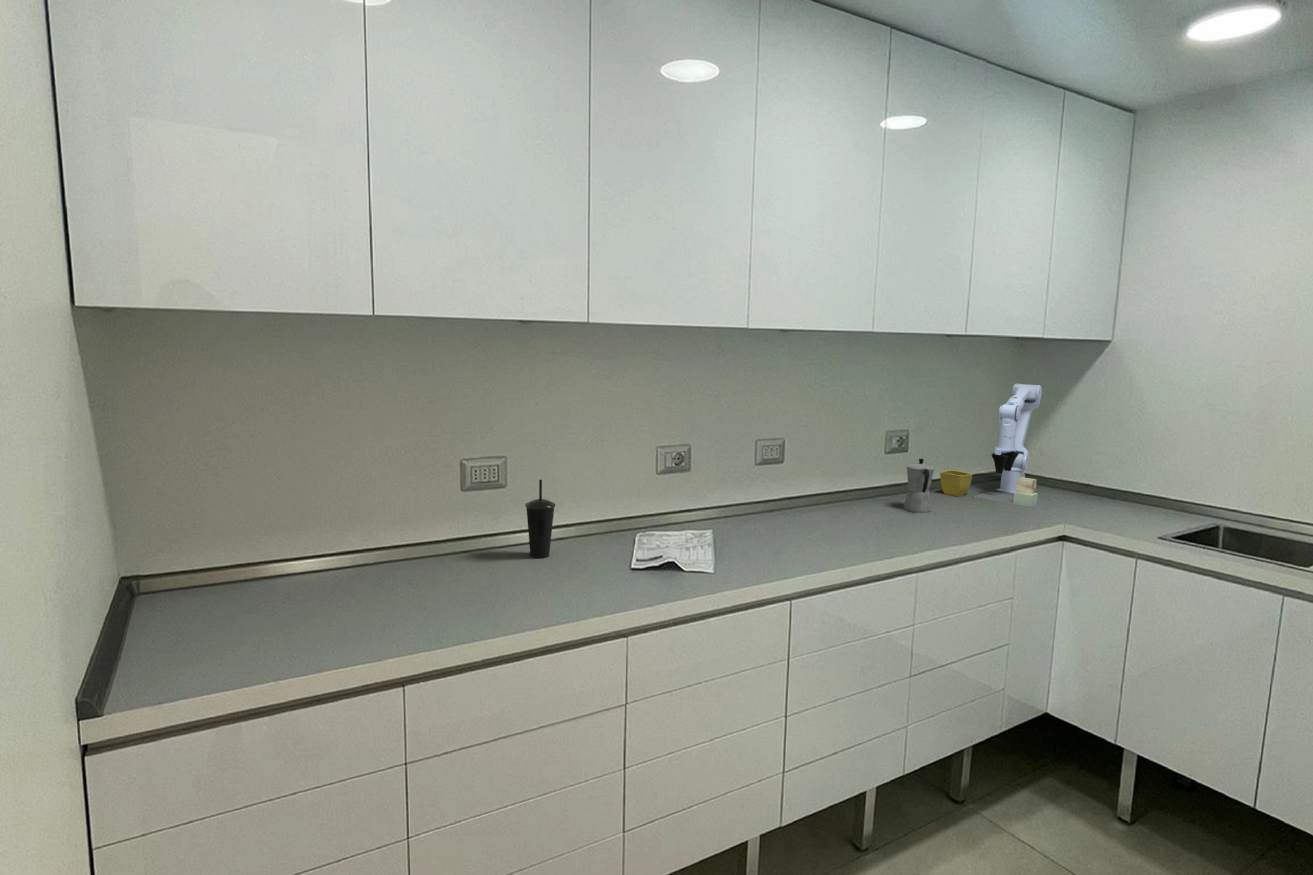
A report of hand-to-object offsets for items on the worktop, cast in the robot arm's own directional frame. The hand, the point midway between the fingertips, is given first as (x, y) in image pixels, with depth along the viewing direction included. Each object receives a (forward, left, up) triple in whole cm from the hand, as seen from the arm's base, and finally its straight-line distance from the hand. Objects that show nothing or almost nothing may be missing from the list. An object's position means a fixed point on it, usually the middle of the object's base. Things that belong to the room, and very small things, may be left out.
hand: (1003, 471), depth 274 cm
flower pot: (+13, -12, -10) cm, 20 cm away
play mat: (+3, +6, -10) cm, 12 cm away
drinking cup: (+179, -44, -10) cm, 185 cm away
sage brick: (+6, +11, -9) cm, 16 cm away
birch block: (+6, +11, -5) cm, 13 cm away
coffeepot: (+47, -9, -10) cm, 49 cm away
